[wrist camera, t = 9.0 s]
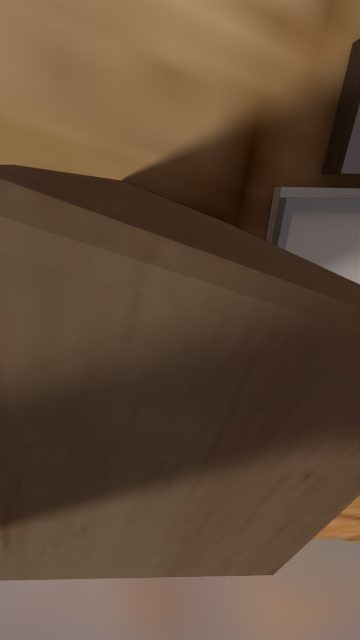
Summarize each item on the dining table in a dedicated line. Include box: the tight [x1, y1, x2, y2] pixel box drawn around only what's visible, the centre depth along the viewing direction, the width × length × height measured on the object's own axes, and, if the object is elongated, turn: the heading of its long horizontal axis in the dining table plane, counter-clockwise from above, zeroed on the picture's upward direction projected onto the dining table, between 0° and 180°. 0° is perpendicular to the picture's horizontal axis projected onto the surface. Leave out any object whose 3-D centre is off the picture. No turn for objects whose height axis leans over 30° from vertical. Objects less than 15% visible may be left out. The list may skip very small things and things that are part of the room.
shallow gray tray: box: [266, 187, 360, 284], centre depth 25 cm, size 16×14×2 cm
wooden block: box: [0, 165, 360, 580], centre depth 15 cm, size 10×10×20 cm
